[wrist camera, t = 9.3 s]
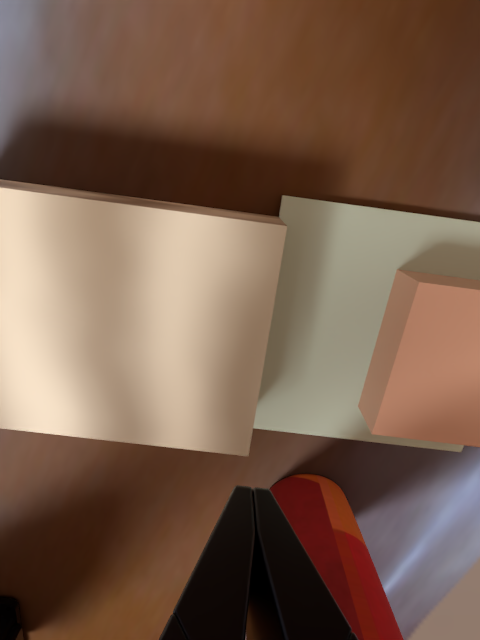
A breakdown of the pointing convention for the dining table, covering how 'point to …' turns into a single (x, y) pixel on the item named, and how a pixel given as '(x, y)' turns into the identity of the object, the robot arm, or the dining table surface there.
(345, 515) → the paper cup
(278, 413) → the rubber mat
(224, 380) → the birch step
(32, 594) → the dining table surface
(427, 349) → the pink block
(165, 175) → the dining table surface
